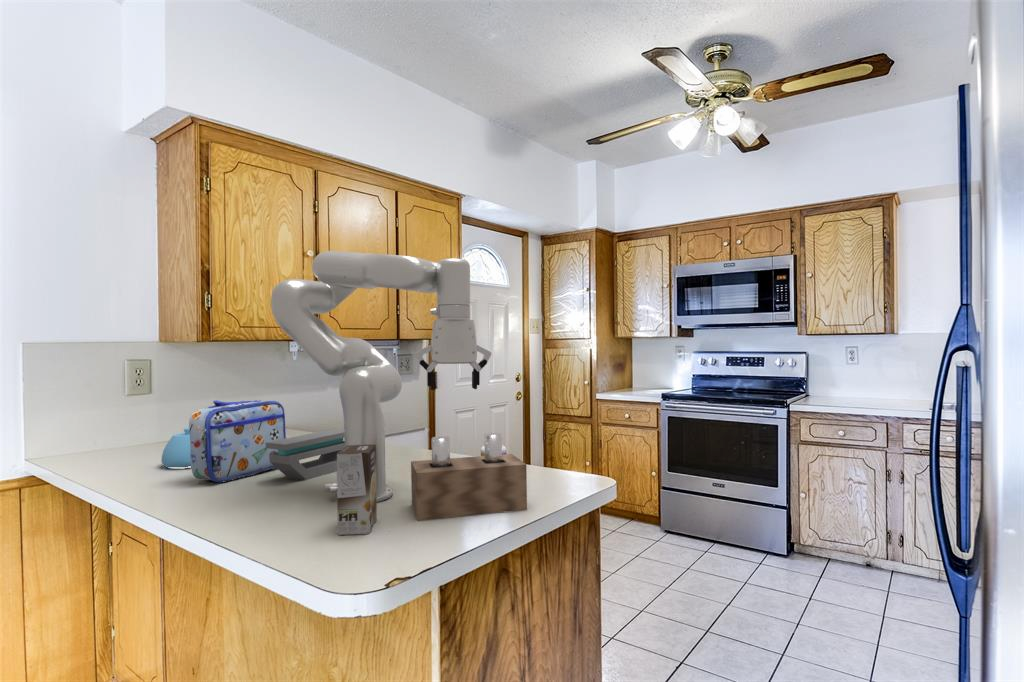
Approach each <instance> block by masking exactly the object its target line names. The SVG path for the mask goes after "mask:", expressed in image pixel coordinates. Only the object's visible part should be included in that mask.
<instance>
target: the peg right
mask: <svg viewBox="0 0 1024 682" xmlns="http://www.w3.org/2000/svg"><path fill="white" fill-rule="evenodd" d="M483 436H484V437H483V441H484V445H483V446H484V449H485V463H486V464H489V463H502V445H503V440H502V437H503V434H502V433H499V432H498V433H497V432H491V433H490V432H489V433H485V434H484V435H483Z"/></svg>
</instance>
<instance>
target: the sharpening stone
mask: <svg viewBox="0 0 1024 682" xmlns="http://www.w3.org/2000/svg"><path fill="white" fill-rule="evenodd" d="M266 448H269V449H277V450H278V452H276V453H271V454H269V460H270V463H271V464H273V465H274V466H275V468H276V469H277V470H279V472H281V473H282V474H283V475H284V477H286V478H290V477H291V478H292V479H298V480H304V481H305V480H306V481H308V480H311V479H314V478H319V477H321V476H325V475H328V474H332V473H335V472H336V473H337V453H338V452H339V451H340V450H342V449H343V448H344V428H343V429H342V428H332V429H331V428H330V429H327V430H322V431H316V432H311V433H306V434H302V435H301V434H300V435H296V436H290V437H286V439H281V440H276V441H270V442H266ZM318 456H319V457H318ZM314 457H318V458H317V459H313V460H309V461H306V462H301V463H300V461H301V460H306V459H310V458H314Z"/></svg>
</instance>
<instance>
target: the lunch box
mask: <svg viewBox="0 0 1024 682" xmlns="http://www.w3.org/2000/svg"><path fill="white" fill-rule="evenodd" d="M212 403H213V404H214V405H211V406H208V407H207V406H206V407H204V408H200V409H197V410H195V411H194V412H192V414H191V415H190V417H189V420H188V428H189V432H190V455H191V474H192V476H193V477H194V478H196V480H206V481H212V482H215V483H224V482H223V481H228V480H232V479H236V478H239V479H241V478H240V477H243V478H246V477H245V476H247V477H251V476H254V475H257V474H259V473H263V472H266V471H268V470H271V469H274V468H276V467H275V466H274V465H273V464H271V463H270V460H269V454H271V453H276V452H278V450H277V449H269V448H266V442H270V441H276V440H281V439H286V438H287V437H286V435H287V434H286V413H285V409H284V407H283V404H282V403H280V402H279V401H276V400H265V401H263V400H262V401H261V400H260V399H259V400H253V401H252V400H241V401H231V402H227V401H220V400H213V401H212ZM250 475H251V476H250ZM236 480H237V479H236ZM232 481H233V480H232ZM228 482H229V481H228Z"/></svg>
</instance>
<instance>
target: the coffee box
mask: <svg viewBox="0 0 1024 682" xmlns="http://www.w3.org/2000/svg"><path fill="white" fill-rule="evenodd" d="M336 483H337V492H336V493H337V494H336V495H337V496H336V497H337V502H336V503H337V535H339V536H341V535H343V536H344V535H346V536H347V535H368V534H369V533H370V532H371V531H372V528H373V527H374V525H375V523H376V521H377V519H378V518H377V517H378V513H377V512H378V505H377V503H378V502H377V495H376V445H375V444H374V445H348V446H346V447H344V448H343V449H342V450H340V451H339V452H338V453H337V471H336Z"/></svg>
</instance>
